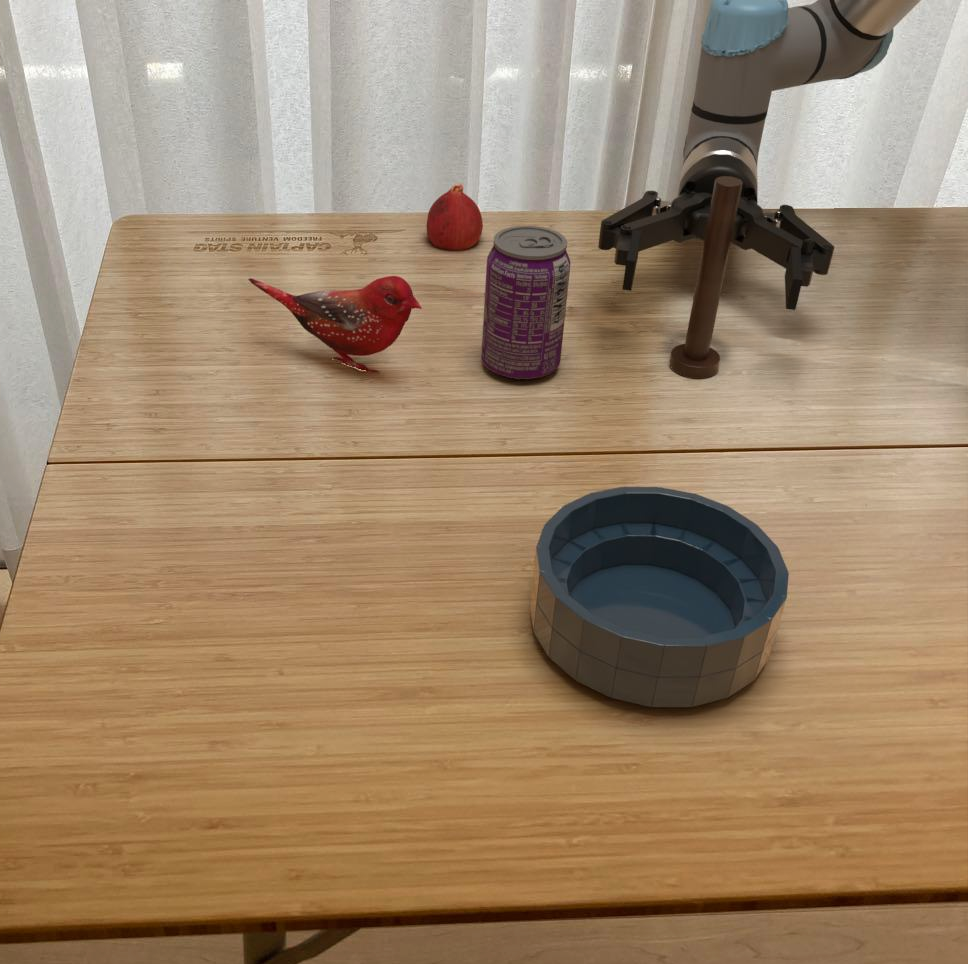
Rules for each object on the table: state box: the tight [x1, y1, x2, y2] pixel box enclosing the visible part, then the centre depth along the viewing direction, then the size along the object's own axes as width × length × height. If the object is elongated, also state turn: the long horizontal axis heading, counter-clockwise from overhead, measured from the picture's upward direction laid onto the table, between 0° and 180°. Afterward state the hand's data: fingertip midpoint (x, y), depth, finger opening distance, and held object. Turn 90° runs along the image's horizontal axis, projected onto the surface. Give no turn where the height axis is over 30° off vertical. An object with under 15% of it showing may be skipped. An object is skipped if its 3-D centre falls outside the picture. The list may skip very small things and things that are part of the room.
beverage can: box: [480, 225, 571, 380], centre depth 97 cm, size 7×7×12 cm
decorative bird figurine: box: [248, 275, 423, 375], centre depth 97 cm, size 3×18×10 cm, turn 62°
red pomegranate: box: [426, 182, 484, 251], centre depth 115 cm, size 6×6×8 cm
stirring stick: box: [668, 176, 743, 379], centre depth 96 cm, size 4×4×17 cm
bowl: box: [529, 486, 790, 708], centre depth 72 cm, size 16×16×6 cm
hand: (710, 285), depth 93 cm, fingers open, 13 cm apart
